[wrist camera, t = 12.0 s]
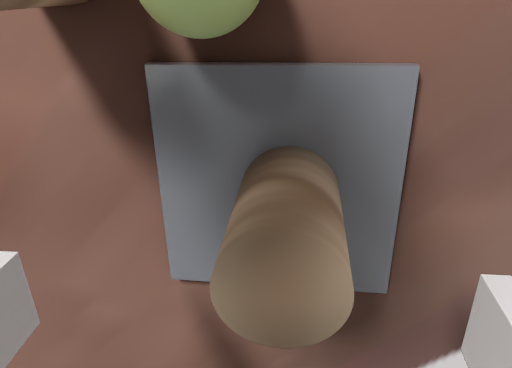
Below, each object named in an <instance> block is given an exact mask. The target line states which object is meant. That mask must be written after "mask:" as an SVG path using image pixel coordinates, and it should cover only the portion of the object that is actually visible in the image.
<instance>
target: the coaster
mask: <svg viewBox="0 0 512 368" xmlns="http://www.w3.org/2000/svg"><path fill="white" fill-rule="evenodd" d="M144 66H145V74H146V82H147V90H148V98H149V106H150V114H151V122H152V130H153V137H154V145H155V153H156V161H157V169H158V177H159V185H160V193H161V201H162V209H163V217H164V225H165V233H166V241H167V249H168V257H169V265H170V273H171V279H178V280H192V281H207V282H210V279H211V275H212V272H213V269H214V266H215V263H216V260H217V257H218V254H219V251H220V247H221V244H222V241H223V238H224V235H225V232H226V229H227V226H228V223H229V220H230V217H231V214H232V211H233V207H234V204H235V201H236V198H237V195H238V192H239V189H240V186H241V183H242V180H243V177H244V174H245V172H246V170H247V168H248V167H249V165H250V164H251V163H252V162H253V161H254V160H255V159H256V158H257V157H258V156H260V155H261V154H263V153H265V152H267V151H269V150H272V149H275V148H279V147H299V148H304V149H307V150H309V151H312V152H314V153H316V154H317V155H319V156H320V157H322V158H323V159H324V160H325V161H326V162H327V163H328V164H329V165H330V167H331V168H332V169H333V171H334V173H335V175H336V178H337V181H338V186H339V193H340V200H341V206H342V213H343V220H344V227H345V233H346V240H347V247H348V253H349V260H350V267H351V274H352V280H353V287H354V291H355V292H370V293H385V294H387V289H388V282H389V275H390V269H391V262H392V255H393V248H394V241H395V234H396V227H397V221H398V214H399V207H400V200H401V193H402V186H403V179H404V172H405V166H406V159H407V152H408V145H409V138H410V131H411V124H412V118H413V111H414V104H415V97H416V90H417V83H418V76H419V69H420V65H418V64H417V63H266V62H148V63H146V64H144Z"/></svg>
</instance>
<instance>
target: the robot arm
mask: <svg viewBox="0 0 512 368" xmlns="http://www.w3.org/2000/svg"><path fill="white" fill-rule="evenodd" d="M39 323H40V321H39V318H38V314H37V311H36V308H35V305H34V302H33V298H32V295H31V292H30V289H29V286H28V282H27V279H26V276H25V273H24V270H23V267H22V263H21V260H20V257H19V254H18V252H6V251H0V368H5V367H6V366H7V365H8V364H9V362H10V361H11V360H12V358H13V357H14V356H15V354H16V353H17V352H18V351H19V349H20V348H21V347H22V345H23V344H24V343H25V341H26V340H27V339H28V338H29V336H30V335H31V334H32V332H33V331H34V330H35V328H36V327H37V326H38V325H39ZM461 352H462V354H463V356H464V359H465V361H466V363H467V366H468V368H512V276H507V275H486V274H481V275H480V279H479V283H478V287H477V290H476V294H475V298H474V302H473V306H472V309H471V313H470V317H469V321H468V325H467V328H466V332H465V336H464V340H463V344H462V347H461Z"/></svg>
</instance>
